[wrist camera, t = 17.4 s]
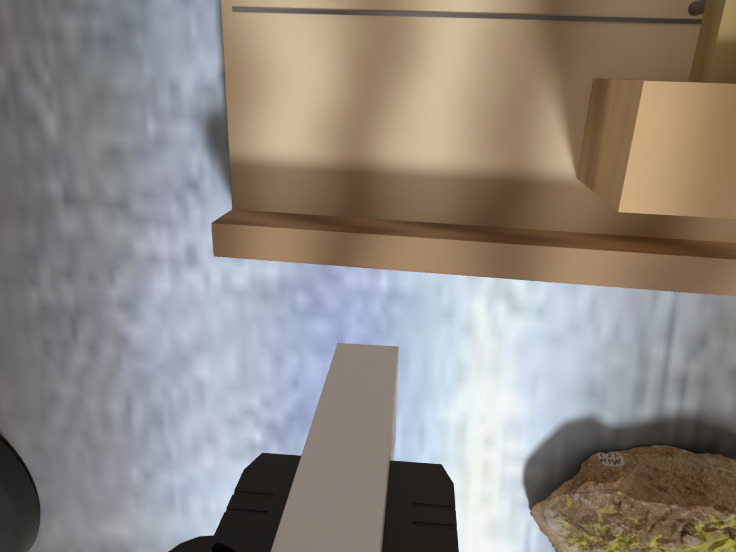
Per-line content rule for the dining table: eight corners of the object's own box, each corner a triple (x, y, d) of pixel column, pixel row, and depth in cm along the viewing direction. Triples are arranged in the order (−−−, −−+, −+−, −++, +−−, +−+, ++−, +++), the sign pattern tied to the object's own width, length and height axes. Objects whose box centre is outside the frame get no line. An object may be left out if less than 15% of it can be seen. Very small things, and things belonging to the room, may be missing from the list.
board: (247, 228, 28) (213, 256, 24) (235, -37, 24) (191, -60, 20) (745, 263, 26) (803, 301, 21) (831, -28, 21) (925, -51, 17)
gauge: (576, 178, 23) (618, 212, 18) (614, -52, 20) (679, -98, 15) (726, 186, 23) (819, 223, 17) (789, -50, 20) (926, -98, 14)
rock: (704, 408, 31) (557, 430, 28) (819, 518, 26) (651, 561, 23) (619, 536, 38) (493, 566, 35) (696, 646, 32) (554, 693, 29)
